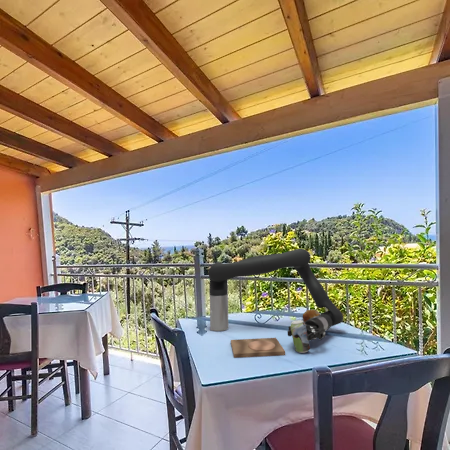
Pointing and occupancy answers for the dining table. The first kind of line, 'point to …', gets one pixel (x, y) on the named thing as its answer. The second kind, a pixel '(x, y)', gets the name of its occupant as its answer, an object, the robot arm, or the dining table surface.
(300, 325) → the beverage can
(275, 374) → the dining table surface
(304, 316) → the bread roll
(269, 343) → the serving board
